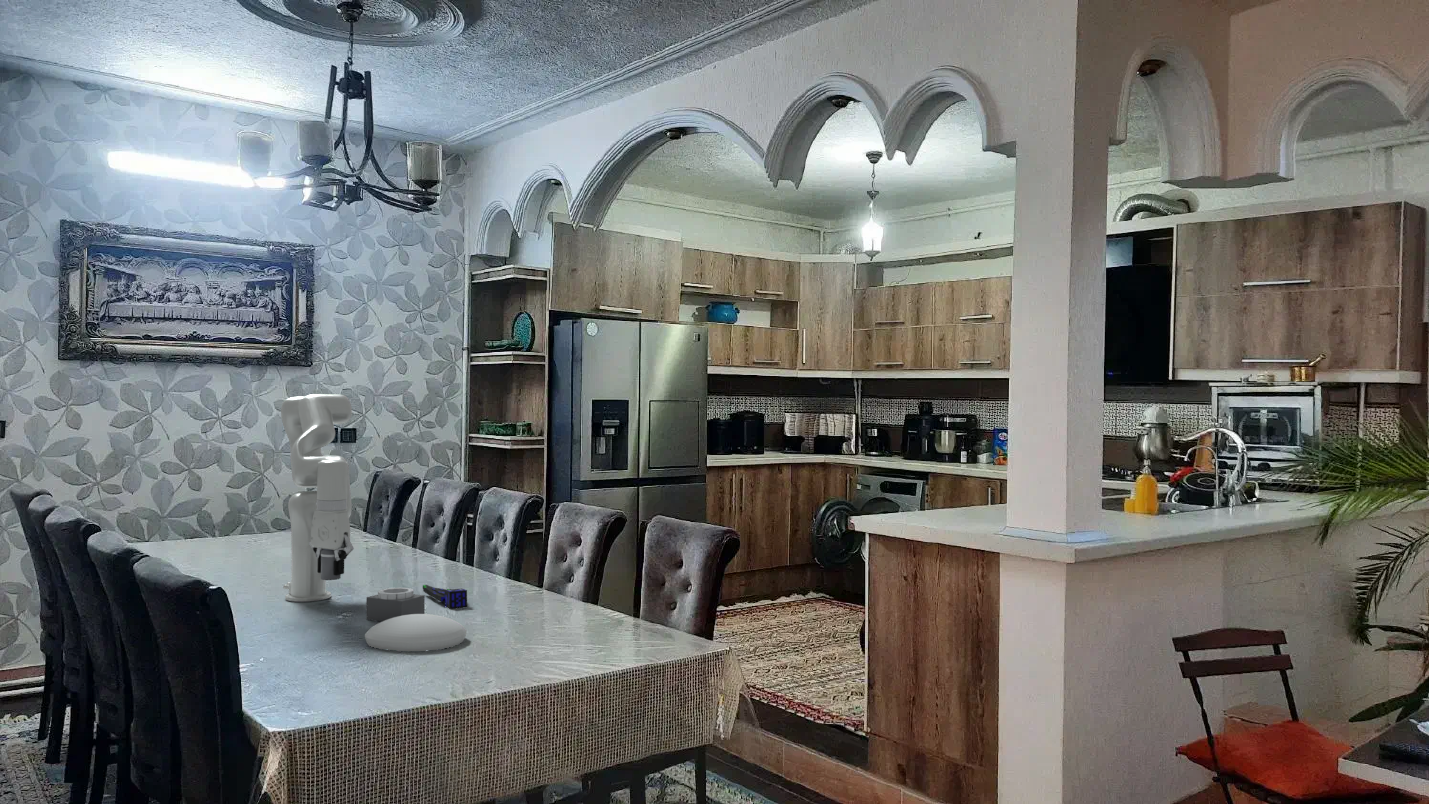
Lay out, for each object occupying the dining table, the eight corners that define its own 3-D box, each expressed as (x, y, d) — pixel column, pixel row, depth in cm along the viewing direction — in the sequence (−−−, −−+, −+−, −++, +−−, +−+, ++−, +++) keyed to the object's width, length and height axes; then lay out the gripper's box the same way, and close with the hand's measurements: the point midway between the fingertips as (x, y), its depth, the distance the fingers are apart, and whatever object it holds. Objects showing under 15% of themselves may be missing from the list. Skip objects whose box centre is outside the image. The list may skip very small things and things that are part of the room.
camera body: (366, 619, 272) (366, 591, 272) (390, 613, 280) (390, 586, 280) (401, 624, 267) (401, 595, 267) (424, 617, 275) (424, 589, 275)
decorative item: (434, 657, 234) (481, 638, 253) (434, 627, 234) (481, 611, 253) (350, 648, 242) (402, 630, 261) (350, 619, 242) (402, 603, 261)
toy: (416, 599, 311) (445, 609, 286) (416, 582, 311) (445, 591, 286) (443, 596, 315) (475, 606, 290) (443, 580, 316) (474, 589, 290)
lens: (316, 578, 270) (316, 548, 270) (330, 575, 275) (331, 545, 275) (330, 581, 268) (331, 550, 268) (344, 577, 273) (345, 547, 273)
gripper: (297, 504, 271) (296, 572, 272) (345, 510, 264) (344, 579, 265) (318, 501, 278) (317, 567, 279) (366, 506, 271) (365, 574, 272)
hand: (330, 572), depth 272 cm, fingers closed on lens, 5 cm apart
